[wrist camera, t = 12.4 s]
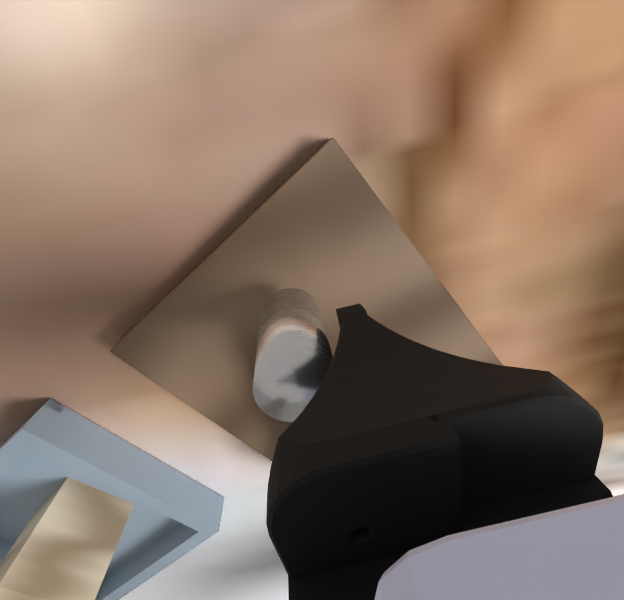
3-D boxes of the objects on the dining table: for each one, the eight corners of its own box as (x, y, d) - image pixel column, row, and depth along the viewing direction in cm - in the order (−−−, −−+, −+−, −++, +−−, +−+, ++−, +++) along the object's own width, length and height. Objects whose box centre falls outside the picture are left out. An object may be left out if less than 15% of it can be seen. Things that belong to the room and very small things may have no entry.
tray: (224, 497, 21) (218, 530, 19) (111, 578, 23) (97, 614, 21) (50, 397, 16) (21, 428, 14) (-66, 510, 19) (-103, 548, 17)
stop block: (134, 503, 19) (89, 611, 15) (98, 537, 20) (47, 648, 16) (68, 476, 18) (-3, 586, 13) (33, 514, 19) (-43, 628, 14)
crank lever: (358, 473, 18) (383, 573, 13) (308, 484, 18) (317, 588, 13) (319, 279, 13) (338, 342, 8) (249, 294, 13) (234, 365, 8)
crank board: (499, 364, 18) (520, 385, 17) (323, 482, 21) (326, 510, 19) (329, 138, 13) (337, 137, 11) (120, 339, 15) (101, 361, 14)
